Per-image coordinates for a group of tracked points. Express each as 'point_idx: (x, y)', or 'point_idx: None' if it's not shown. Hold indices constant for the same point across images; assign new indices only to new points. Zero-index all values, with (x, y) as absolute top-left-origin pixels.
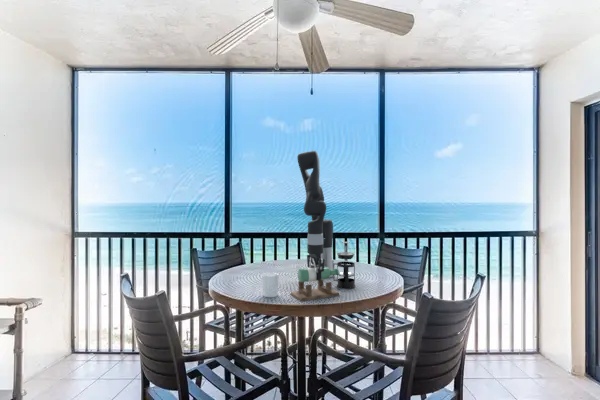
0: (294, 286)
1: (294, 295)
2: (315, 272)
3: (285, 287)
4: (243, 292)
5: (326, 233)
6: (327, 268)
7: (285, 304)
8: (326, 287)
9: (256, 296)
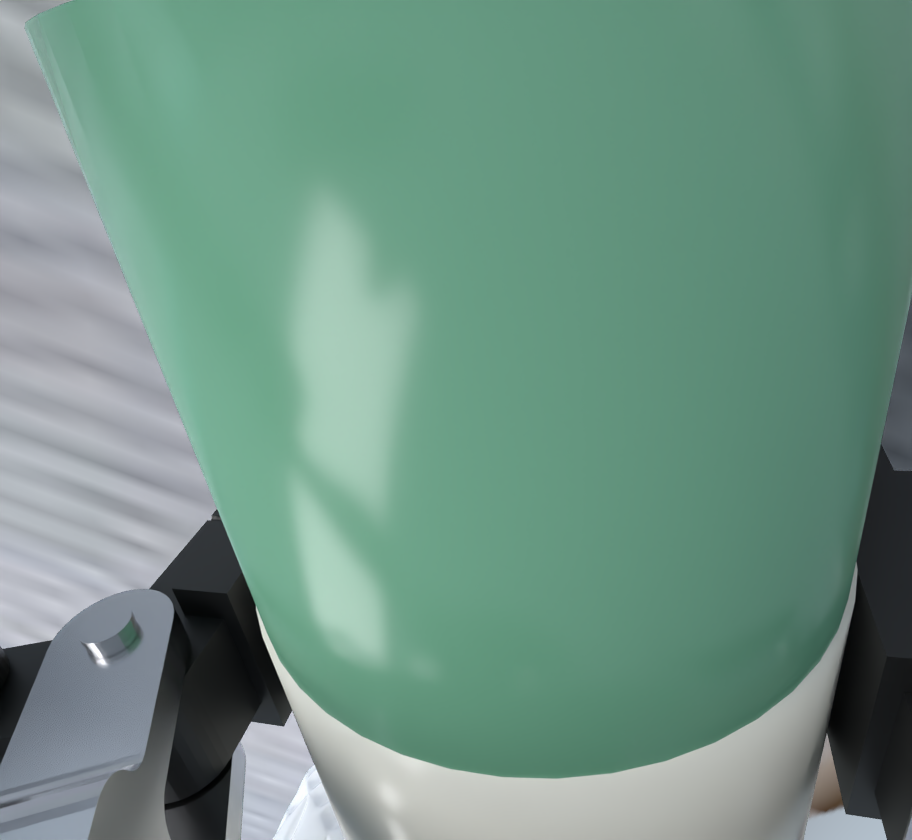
0: (49, 400)
1: None
2: (806, 816)
3: (103, 515)
4: (261, 832)
5: None
6: (786, 69)
7: (826, 779)
8: None
9: None
